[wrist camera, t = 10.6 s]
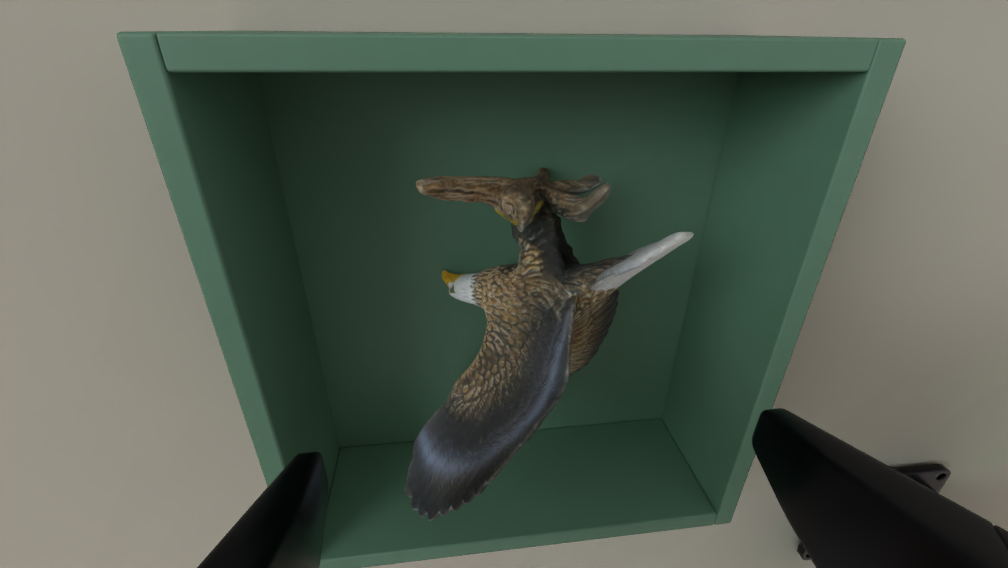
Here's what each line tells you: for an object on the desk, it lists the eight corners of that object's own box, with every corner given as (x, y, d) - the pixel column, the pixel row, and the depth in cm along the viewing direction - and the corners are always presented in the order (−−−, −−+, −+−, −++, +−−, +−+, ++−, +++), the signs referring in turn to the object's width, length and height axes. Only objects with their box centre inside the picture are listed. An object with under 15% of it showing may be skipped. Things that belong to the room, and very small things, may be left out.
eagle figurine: (333, 161, 12) (350, 459, 15) (527, 193, 7) (500, 640, 10) (542, 162, 17) (527, 386, 20) (746, 181, 12) (688, 480, 15)
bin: (754, 35, 14) (908, 38, 9) (666, 416, 21) (731, 523, 16) (232, 30, 12) (112, 31, 8) (328, 447, 19) (296, 576, 14)
